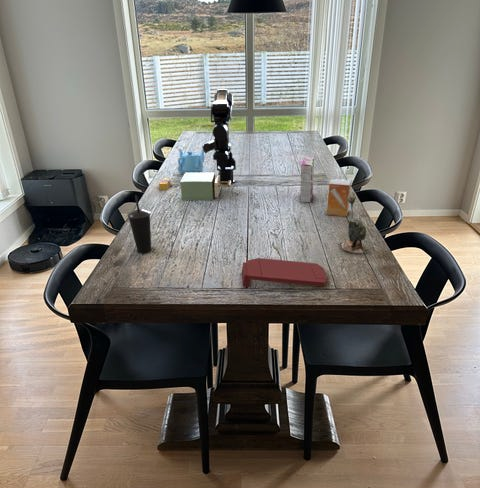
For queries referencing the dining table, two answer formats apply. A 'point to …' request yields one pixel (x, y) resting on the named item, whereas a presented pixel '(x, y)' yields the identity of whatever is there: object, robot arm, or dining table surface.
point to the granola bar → (164, 184)
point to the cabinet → (197, 186)
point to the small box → (338, 197)
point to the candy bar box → (307, 179)
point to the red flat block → (283, 272)
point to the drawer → (217, 185)
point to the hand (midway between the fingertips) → (223, 170)
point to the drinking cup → (141, 228)
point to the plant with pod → (355, 232)
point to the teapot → (190, 162)
